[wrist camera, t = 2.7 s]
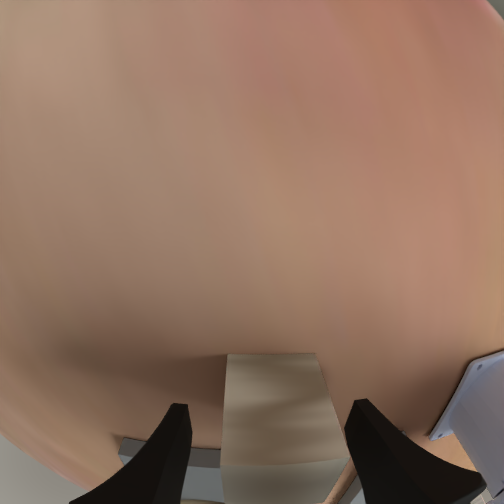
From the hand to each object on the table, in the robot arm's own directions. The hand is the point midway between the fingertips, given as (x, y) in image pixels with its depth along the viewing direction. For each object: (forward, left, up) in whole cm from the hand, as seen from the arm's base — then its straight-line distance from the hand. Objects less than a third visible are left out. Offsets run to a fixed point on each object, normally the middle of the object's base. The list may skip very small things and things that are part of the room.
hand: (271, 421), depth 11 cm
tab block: (0, 0, -2) cm, 2 cm away
